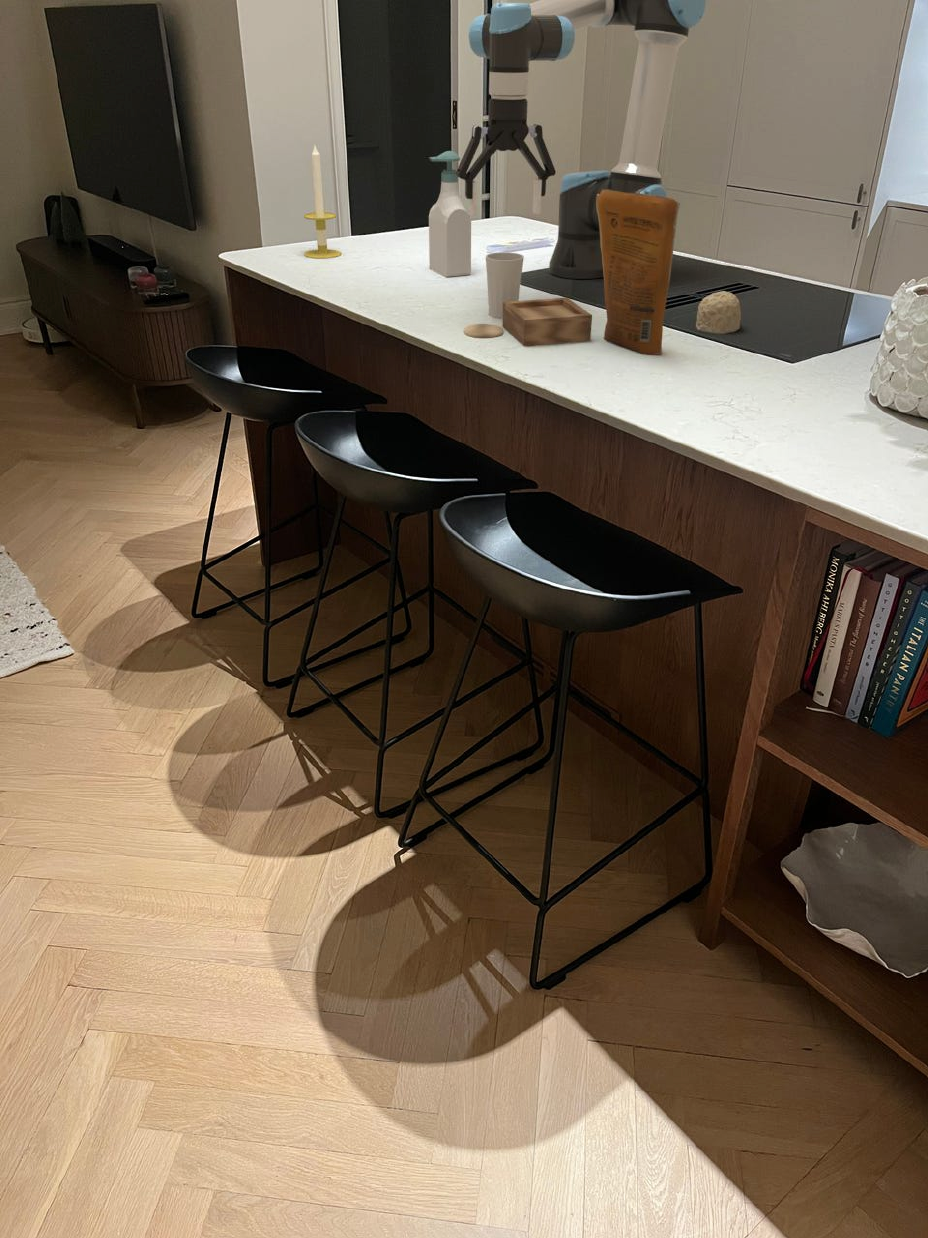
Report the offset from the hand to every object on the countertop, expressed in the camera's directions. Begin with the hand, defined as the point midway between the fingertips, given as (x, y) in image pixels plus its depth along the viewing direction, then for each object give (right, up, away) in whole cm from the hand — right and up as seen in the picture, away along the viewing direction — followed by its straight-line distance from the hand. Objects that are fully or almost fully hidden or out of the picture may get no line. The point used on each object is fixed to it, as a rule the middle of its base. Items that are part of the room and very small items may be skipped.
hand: (504, 214), depth 197 cm
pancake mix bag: (+24, -29, -8) cm, 39 cm away
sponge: (+44, -22, +3) cm, 50 cm away
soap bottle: (-13, +4, +44) cm, 46 cm away
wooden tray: (+8, -25, -1) cm, 26 cm away
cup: (0, -17, +11) cm, 20 cm away
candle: (-46, +15, +61) cm, 78 cm away
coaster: (-4, -24, -1) cm, 25 cm away
